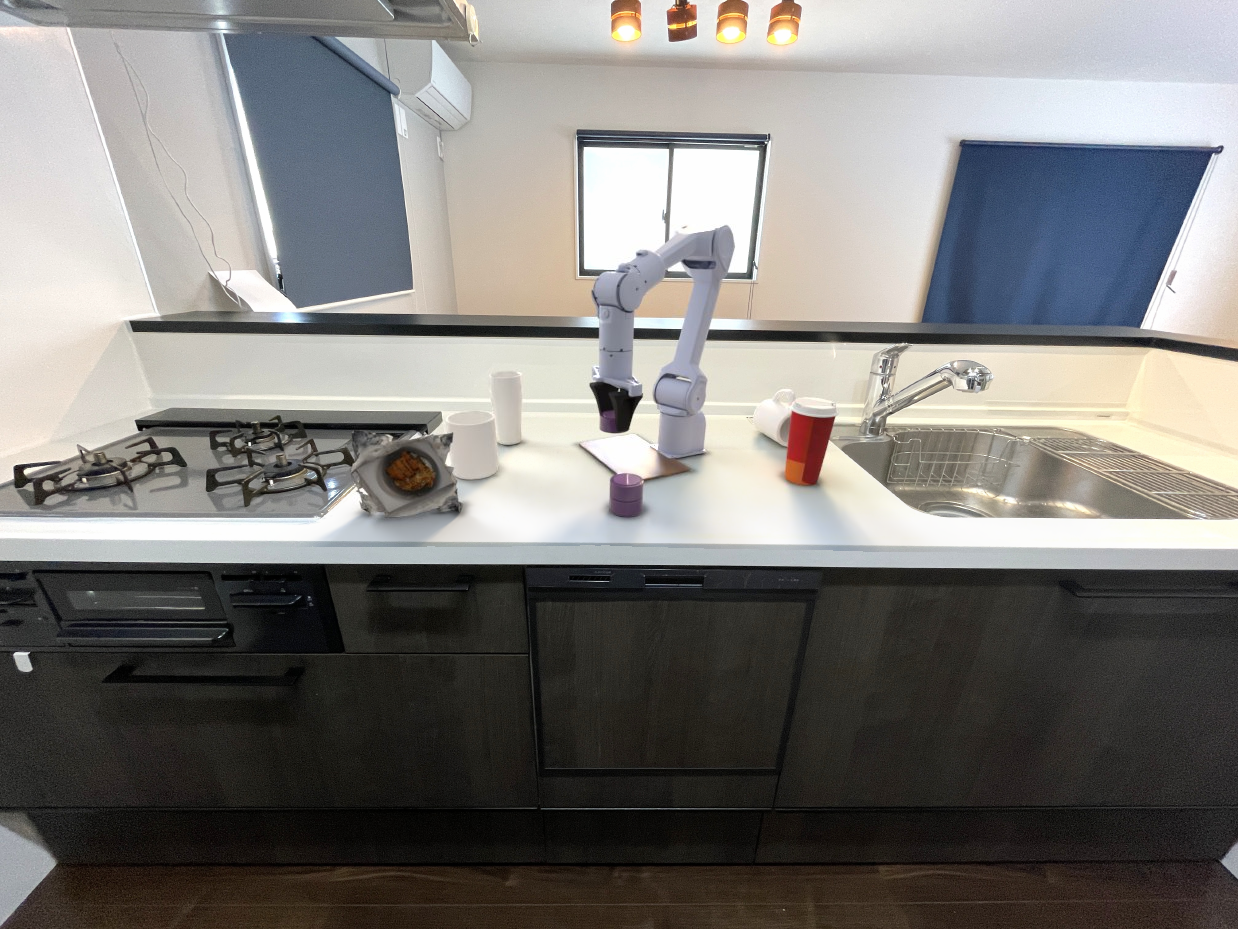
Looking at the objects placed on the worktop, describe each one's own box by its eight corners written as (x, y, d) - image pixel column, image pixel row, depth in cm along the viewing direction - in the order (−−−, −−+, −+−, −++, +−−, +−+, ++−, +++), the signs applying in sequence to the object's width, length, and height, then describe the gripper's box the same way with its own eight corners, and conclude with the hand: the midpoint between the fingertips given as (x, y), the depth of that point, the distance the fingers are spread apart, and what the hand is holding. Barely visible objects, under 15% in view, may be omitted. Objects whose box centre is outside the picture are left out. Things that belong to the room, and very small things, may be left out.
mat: (634, 435, 114) (634, 433, 113) (690, 470, 96) (690, 468, 96) (578, 444, 107) (578, 442, 107) (628, 484, 90) (628, 482, 90)
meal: (463, 502, 82) (455, 427, 76) (459, 515, 78) (450, 437, 73) (368, 506, 80) (352, 429, 74) (358, 519, 76) (342, 439, 71)
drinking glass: (518, 448, 104) (514, 378, 98) (488, 445, 105) (482, 376, 100) (529, 437, 110) (526, 371, 104) (501, 434, 112) (496, 369, 106)
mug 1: (497, 454, 101) (493, 404, 97) (499, 478, 90) (495, 423, 86) (454, 457, 99) (448, 406, 95) (450, 482, 88) (443, 426, 84)
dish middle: (632, 484, 83) (632, 470, 82) (649, 497, 79) (649, 482, 78) (603, 490, 81) (604, 475, 80) (619, 504, 77) (619, 489, 76)
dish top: (620, 422, 91) (620, 407, 90) (635, 430, 87) (635, 416, 86) (594, 426, 89) (594, 411, 88) (608, 435, 85) (608, 420, 84)
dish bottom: (631, 498, 84) (632, 484, 83) (648, 512, 80) (649, 497, 79) (603, 505, 82) (603, 490, 81) (619, 519, 78) (619, 504, 77)
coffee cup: (823, 473, 96) (838, 399, 90) (824, 491, 89) (841, 411, 83) (778, 467, 99) (790, 394, 93) (776, 483, 92) (789, 405, 86)
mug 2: (780, 430, 119) (788, 382, 115) (806, 445, 110) (816, 393, 105) (750, 433, 117) (757, 383, 112) (774, 448, 108) (782, 395, 103)
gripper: (576, 343, 86) (577, 417, 92) (615, 358, 75) (614, 442, 80) (611, 340, 90) (610, 412, 95) (654, 355, 78) (650, 435, 83)
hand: (614, 425), depth 88 cm, fingers closed on dish top, 5 cm apart
